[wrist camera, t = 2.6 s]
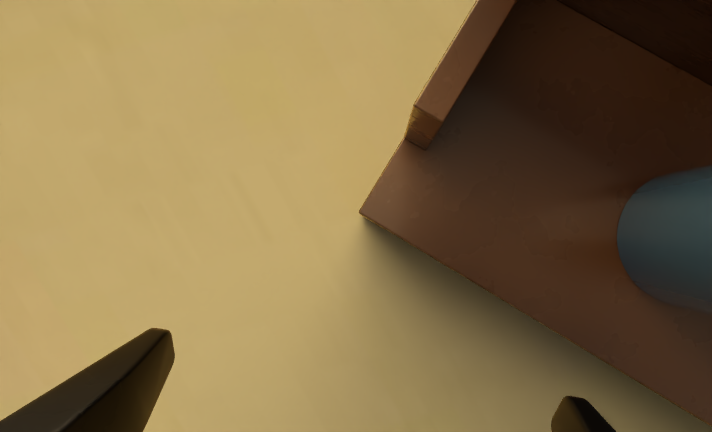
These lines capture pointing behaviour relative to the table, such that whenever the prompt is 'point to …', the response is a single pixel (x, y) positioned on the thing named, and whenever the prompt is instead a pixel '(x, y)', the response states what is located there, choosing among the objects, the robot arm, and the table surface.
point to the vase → (671, 238)
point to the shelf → (562, 169)
